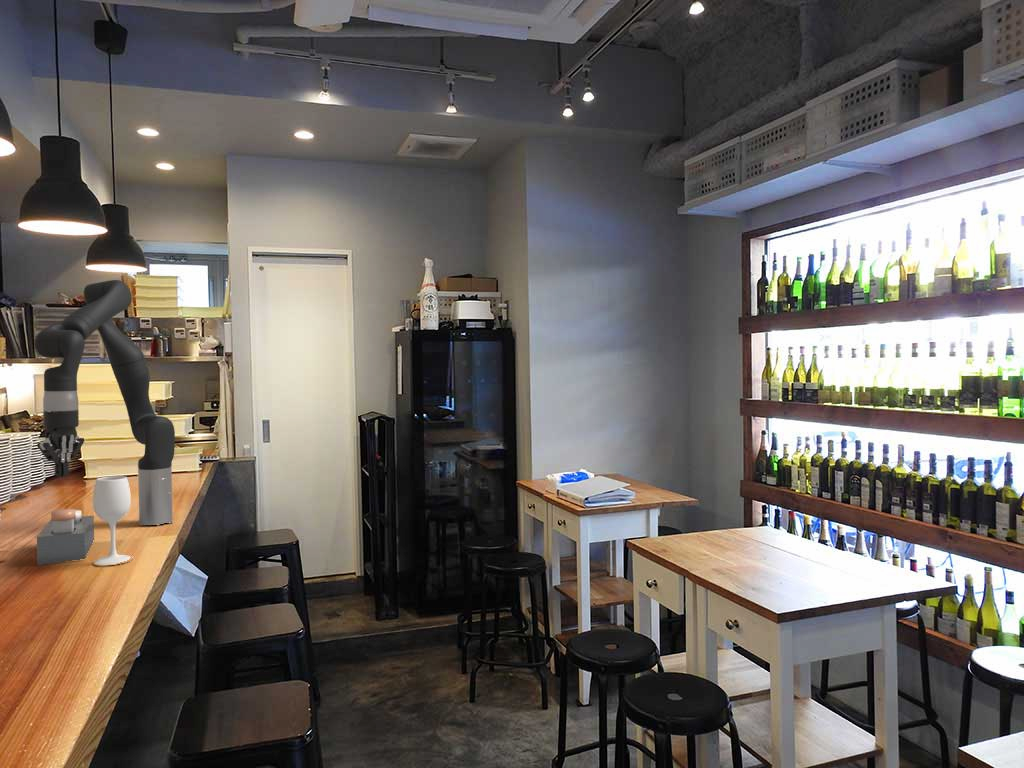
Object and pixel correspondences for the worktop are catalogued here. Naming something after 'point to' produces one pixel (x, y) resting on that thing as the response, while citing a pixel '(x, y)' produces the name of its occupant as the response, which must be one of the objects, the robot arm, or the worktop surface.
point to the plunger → (63, 520)
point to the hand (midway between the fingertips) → (62, 476)
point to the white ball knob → (78, 516)
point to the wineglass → (112, 509)
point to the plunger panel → (65, 542)
